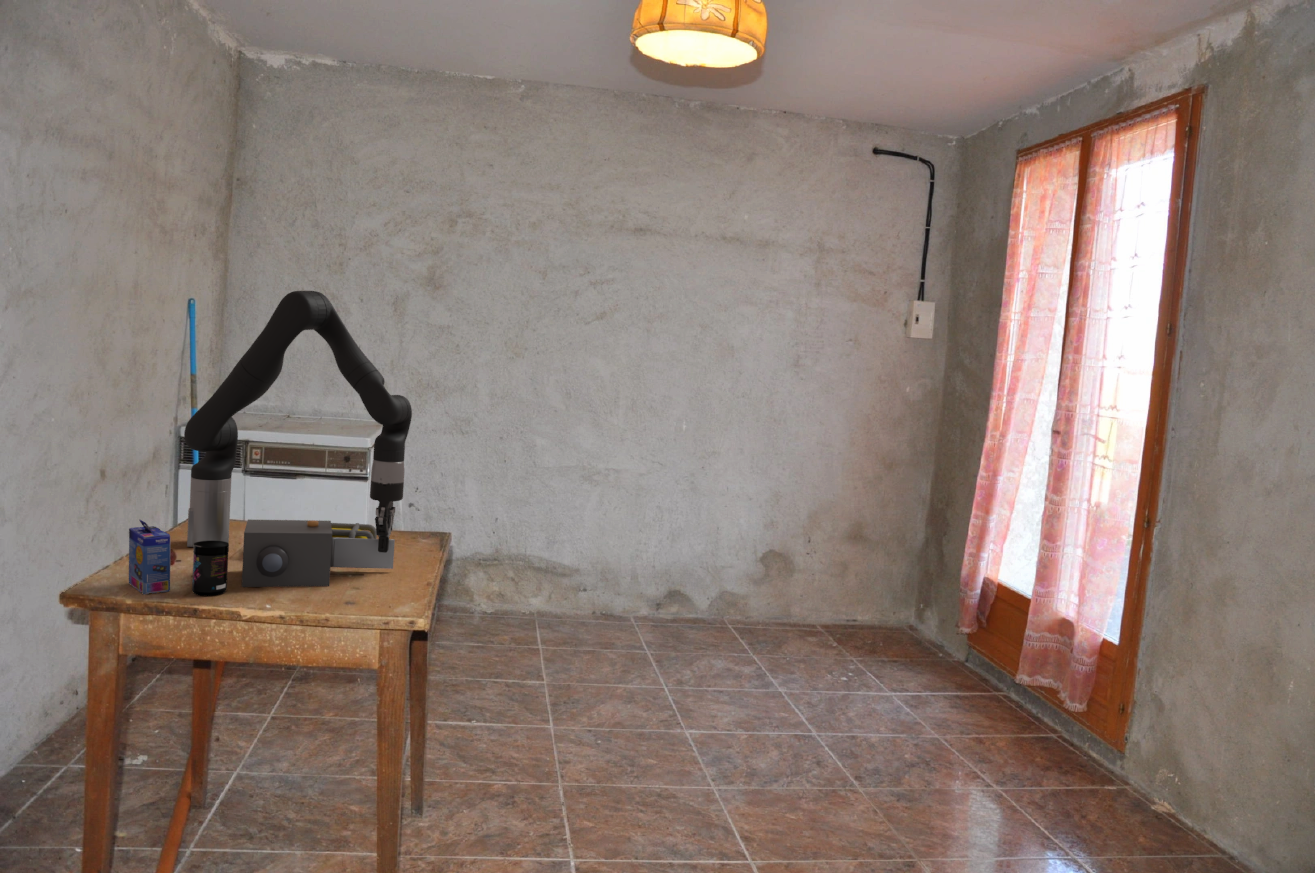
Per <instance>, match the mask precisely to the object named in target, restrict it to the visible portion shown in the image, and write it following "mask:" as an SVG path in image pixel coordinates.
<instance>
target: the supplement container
mask: <svg viewBox="0 0 1315 873" xmlns="http://www.w3.org/2000/svg"><path fill="white" fill-rule="evenodd" d="M229 548H230V542H229V543H227V542H224V541H200V542H196V543H194V547H193V554H192V556H193V558H192V583H191V584H192V586H191V591H192V593H193V594H194V595H196V596H200V597H215V596H221V595H224V594H225V593H226V592H227V588H228V572H229V570H228V567H229V553H230V552H229V551H230V550H229Z"/></svg>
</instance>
